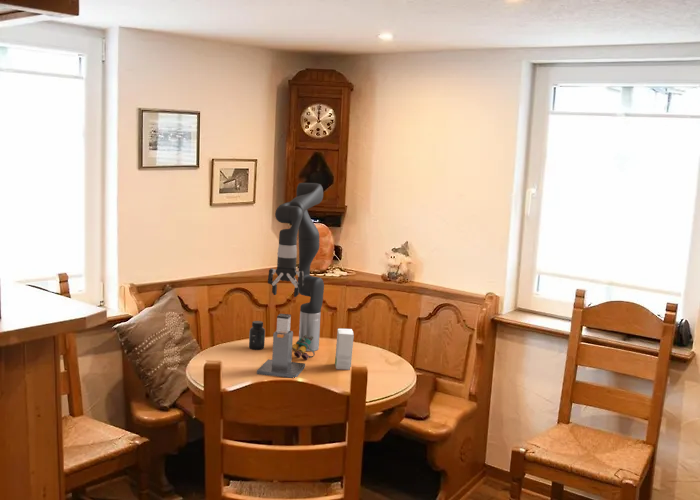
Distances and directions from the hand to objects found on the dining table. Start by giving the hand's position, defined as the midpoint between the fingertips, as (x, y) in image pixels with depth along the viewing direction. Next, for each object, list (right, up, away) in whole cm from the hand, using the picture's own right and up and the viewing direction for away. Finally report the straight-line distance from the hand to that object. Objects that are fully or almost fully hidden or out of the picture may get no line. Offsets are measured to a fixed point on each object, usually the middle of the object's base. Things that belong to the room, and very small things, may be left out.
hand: (285, 295), depth 286 cm
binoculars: (+5, -29, +22) cm, 37 cm away
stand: (-2, -31, +4) cm, 31 cm away
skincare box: (+23, -31, +14) cm, 41 cm away
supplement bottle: (-16, -26, +34) cm, 45 cm away
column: (-2, -29, +4) cm, 29 cm away
